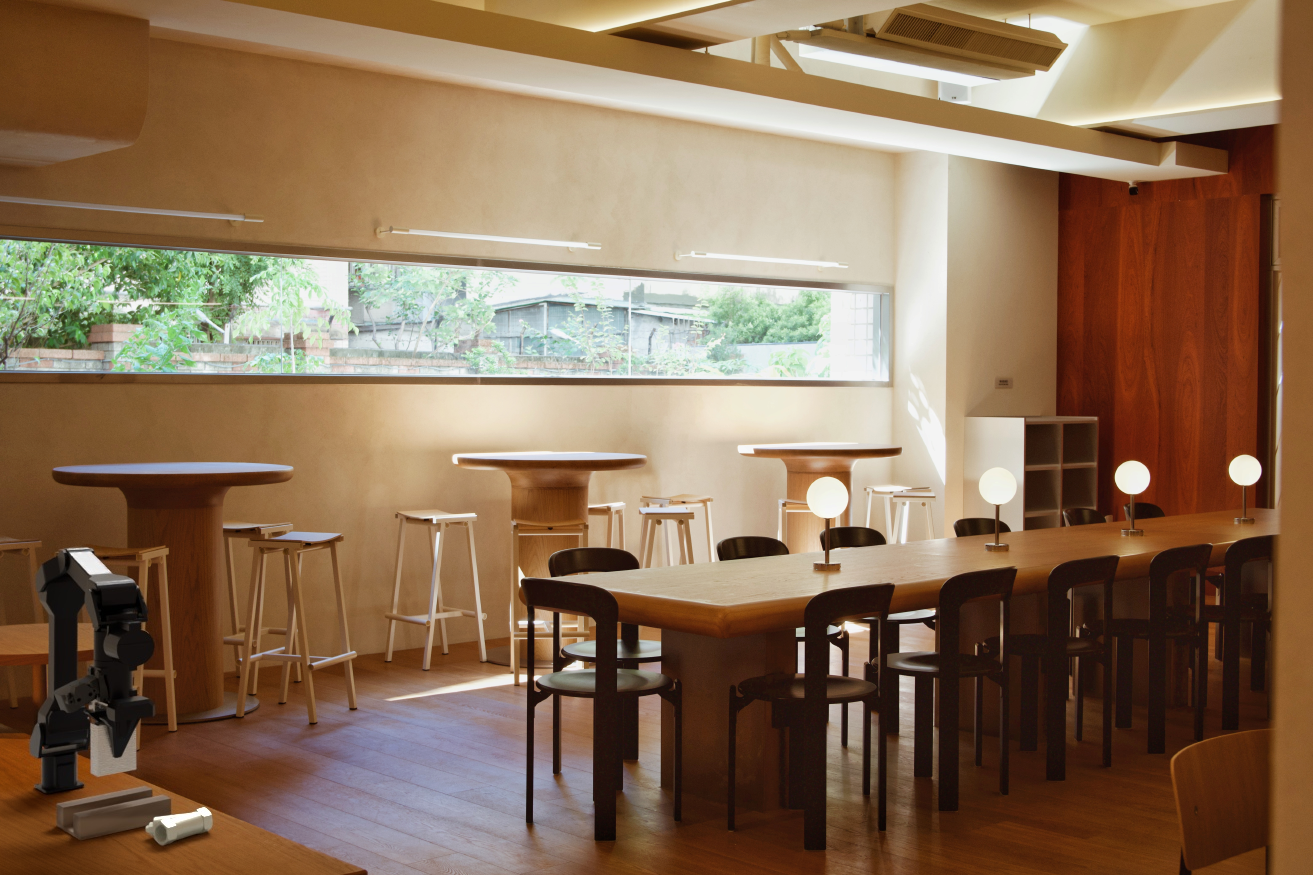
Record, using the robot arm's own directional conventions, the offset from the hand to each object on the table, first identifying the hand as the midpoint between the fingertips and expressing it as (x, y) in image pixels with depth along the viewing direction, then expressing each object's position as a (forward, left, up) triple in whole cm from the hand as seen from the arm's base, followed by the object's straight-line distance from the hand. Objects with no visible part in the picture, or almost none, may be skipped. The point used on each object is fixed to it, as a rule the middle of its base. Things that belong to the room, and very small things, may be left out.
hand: (113, 755), depth 194 cm
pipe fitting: (+14, +4, -11) cm, 18 cm away
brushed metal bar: (0, 0, -3) cm, 2 cm away
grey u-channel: (0, 0, -11) cm, 11 cm away
